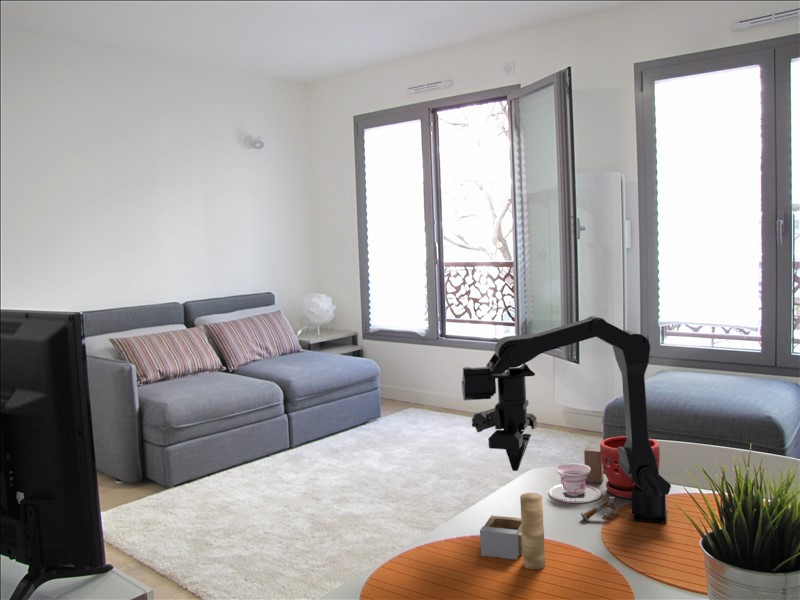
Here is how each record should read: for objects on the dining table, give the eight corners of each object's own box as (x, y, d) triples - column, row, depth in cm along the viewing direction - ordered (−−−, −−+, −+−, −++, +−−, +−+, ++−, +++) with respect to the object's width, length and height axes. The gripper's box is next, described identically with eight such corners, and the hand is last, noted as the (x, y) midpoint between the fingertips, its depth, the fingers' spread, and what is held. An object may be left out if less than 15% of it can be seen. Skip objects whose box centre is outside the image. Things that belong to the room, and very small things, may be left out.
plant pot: (670, 489, 160) (669, 439, 160) (644, 506, 151) (642, 453, 150) (618, 478, 170) (617, 431, 169) (591, 494, 161) (589, 444, 160)
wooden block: (601, 483, 167) (600, 451, 166) (585, 482, 169) (583, 450, 168) (603, 478, 171) (602, 446, 170) (587, 477, 172) (586, 445, 172)
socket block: (530, 538, 139) (529, 519, 138) (521, 555, 131) (520, 535, 131) (492, 534, 142) (491, 515, 142) (481, 550, 134) (480, 530, 134)
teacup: (566, 482, 170) (565, 457, 169) (611, 492, 161) (610, 467, 161) (538, 496, 162) (537, 470, 161) (583, 508, 153) (582, 481, 152)
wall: (519, 555, 132) (518, 530, 131) (517, 559, 130) (515, 534, 129) (484, 551, 134) (482, 526, 134) (481, 555, 132) (479, 530, 132)
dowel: (547, 561, 128) (544, 493, 127) (543, 570, 125) (539, 501, 124) (526, 558, 130) (522, 491, 129) (521, 568, 126) (518, 499, 125)
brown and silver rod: (623, 513, 146) (614, 495, 146) (592, 532, 145) (583, 514, 145) (619, 510, 148) (610, 492, 148) (588, 529, 147) (579, 511, 146)
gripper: (486, 387, 155) (489, 454, 156) (462, 406, 138) (465, 482, 139) (535, 388, 151) (538, 457, 152) (516, 408, 134) (520, 486, 135)
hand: (515, 470), depth 145 cm, fingers closed
